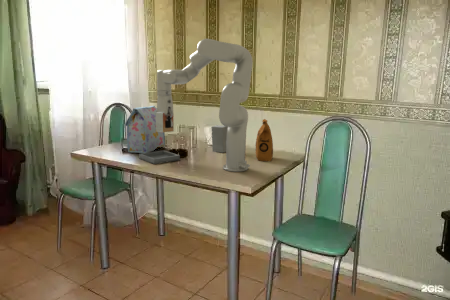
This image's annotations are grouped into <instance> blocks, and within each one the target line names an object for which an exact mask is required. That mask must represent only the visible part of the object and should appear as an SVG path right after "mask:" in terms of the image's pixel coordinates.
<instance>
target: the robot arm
mask: <svg viewBox="0 0 450 300" xmlns="http://www.w3.org/2000/svg"><path fill="white" fill-rule="evenodd" d="M189 61H190V63H189V64H188V65H187V66H185V67H184V68H183V69H158V70H157V71H156V97H157V99H156V100H157V101H156V108H157V112H161V113H164V115H165V118H166V121H165V128H171V120H172V119H171V118H172V116H173V117H174V103H173V96H172V85H185V84H188V83H189V82H191V81H192V80H193V79H195V78H196V77H197V76H198V75H199V74H200V72H201V70H202V69H203V68H205V67H206V66H208V65H209V64H210V63H212V62H214V61H219V62H224V63H232V64H235V67H234V69H233V71H232V80H231V82H230V83H227V84H226V85H225V86H224V87H223V89H222V91H221V94H220V102H219V103H220V104H219V109H218V110H219V112H218V119H219V121H220V123H221V126H226V127H228V128H227V145H226V152H225V153H226V155H225V157H226V158H225V159H226V160H225V164H223V166H222V169H223V170H225V171H227V172H238V173H239V172H240V173H241V172H245V171H248V170H249V168H250V166H251V164H248V163H247V160H246V150H247V149H246V147H247V146H246V143H247V127H248V121H249V113H248V110H247V108H245V106H243V105H241V103H244V102H246V101H247V99H248V98H249V94H250V87H251V79H252V78H251V77H252V71H253V56H252V54H251V51H249V50H248V49H247V48H246V47H244V46H243V45H240V44H236V43H232V42H231V43H229V42H224V41H219V40H216V39H211V38H203V39H201V40H200V41H198V43H197V47H196V50H195V51H194V52H193V53H192V54H190V55H189ZM167 116H168V117H167Z"/></svg>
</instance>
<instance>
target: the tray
mask: <svg viewBox="0 0 450 300" xmlns="http://www.w3.org/2000/svg"><path fill="white" fill-rule="evenodd" d="M138 159H139V160H142V161H144V162H147V163H150V164H152V165H158V164H163V163H169V162H176V161H180V160H181V155H180V154H178V153H177V154H176V153H173V152H172V151H171V152H170V151H168V150H155V151H151V152H148V153H139V154H138Z"/></svg>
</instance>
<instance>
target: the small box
mask: <svg viewBox="0 0 450 300" xmlns="http://www.w3.org/2000/svg"><path fill="white" fill-rule="evenodd" d="M167 117H168V116H167ZM171 119H172V120H171V128H165V121H166V118H165V115H164V113H161V112H157V113H156V132H162V133H169V132H170V133H171V132H174V130H175V129H174V124H175V123H174V115H173V116H172V118H171Z"/></svg>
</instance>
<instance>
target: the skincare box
mask: <svg viewBox="0 0 450 300" xmlns="http://www.w3.org/2000/svg"><path fill="white" fill-rule="evenodd" d="M227 128H228V127H226V126H224V125H219V124H218V125H217V124H216V125H213V126H211V128H210V129H211V144H212V145H211V147H212V149H211V150H212V152H214V153H215V152H216V153H226V145H227Z"/></svg>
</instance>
